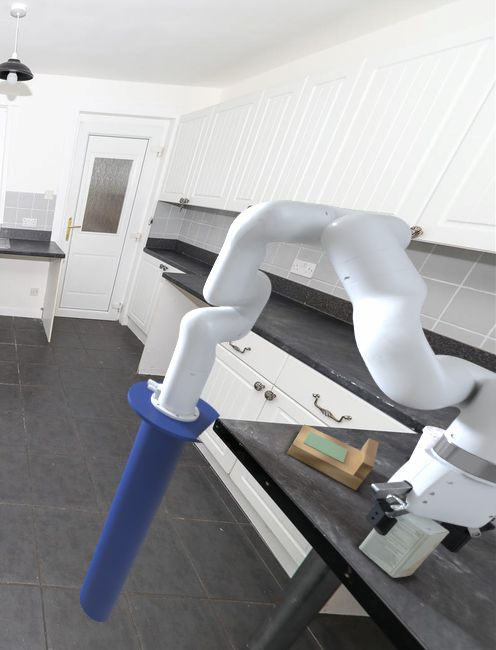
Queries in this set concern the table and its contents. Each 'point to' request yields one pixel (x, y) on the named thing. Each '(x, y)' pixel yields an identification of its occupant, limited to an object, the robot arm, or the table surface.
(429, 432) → the smoothie
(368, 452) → the wooden sharpening stone holder
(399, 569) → the box
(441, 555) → the table surface
